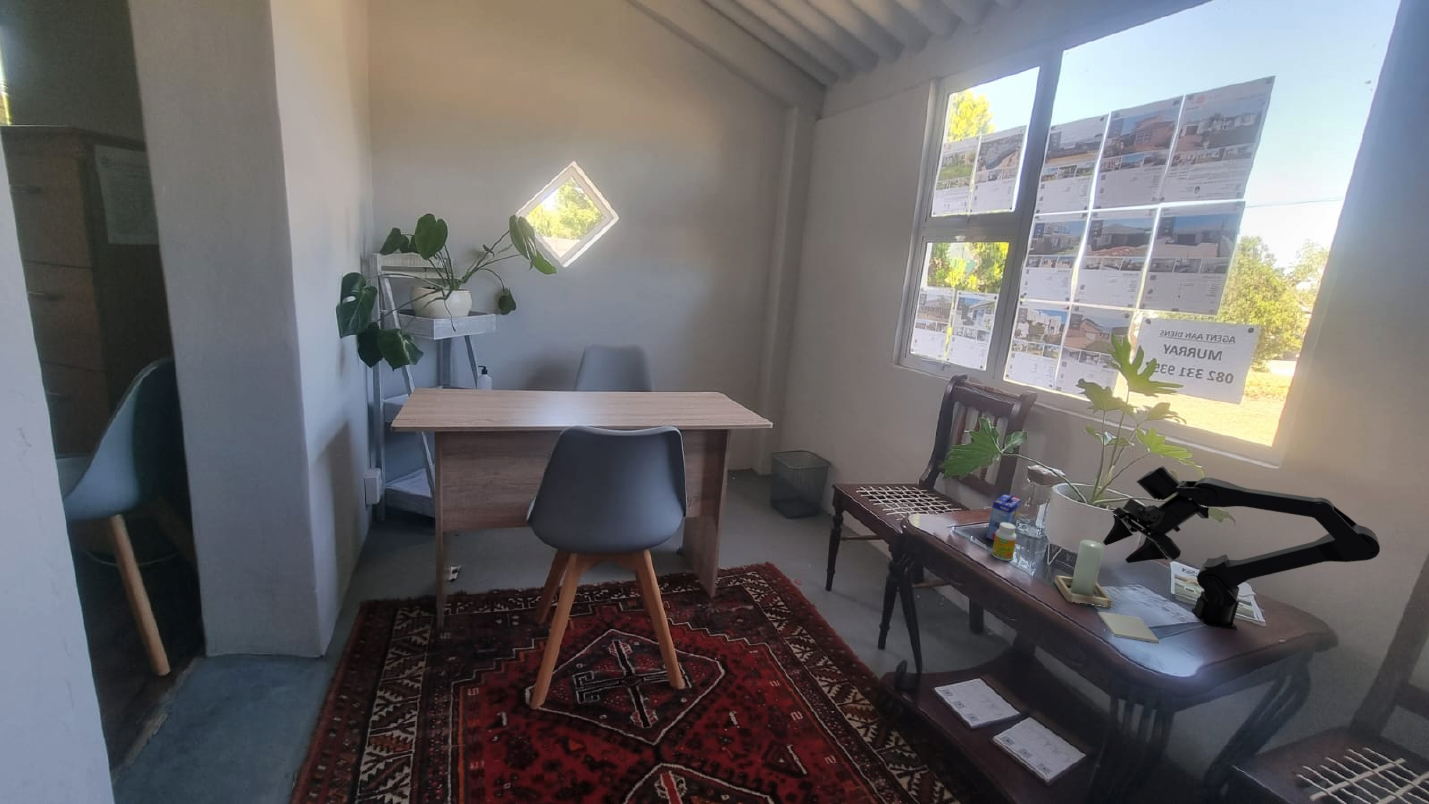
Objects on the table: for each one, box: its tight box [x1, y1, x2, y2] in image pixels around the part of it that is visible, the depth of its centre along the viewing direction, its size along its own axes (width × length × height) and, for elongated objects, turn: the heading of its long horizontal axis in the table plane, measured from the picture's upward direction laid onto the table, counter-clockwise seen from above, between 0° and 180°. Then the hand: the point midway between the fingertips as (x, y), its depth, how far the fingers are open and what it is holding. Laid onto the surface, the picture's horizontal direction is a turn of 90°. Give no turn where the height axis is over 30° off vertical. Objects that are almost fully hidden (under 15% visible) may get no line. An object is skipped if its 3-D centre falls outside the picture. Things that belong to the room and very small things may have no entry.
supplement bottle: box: [991, 522, 1017, 562], centre depth 165 cm, size 5×5×10 cm
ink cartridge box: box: [985, 492, 1022, 541], centre depth 178 cm, size 10×6×14 cm, turn 136°
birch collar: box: [1053, 575, 1113, 609], centre depth 148 cm, size 10×10×2 cm
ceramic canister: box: [1069, 539, 1105, 597], centre depth 147 cm, size 5×5×14 cm
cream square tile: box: [1097, 611, 1160, 644], centre depth 135 cm, size 9×9×1 cm
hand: (1115, 552), depth 145 cm, fingers open, 9 cm apart
